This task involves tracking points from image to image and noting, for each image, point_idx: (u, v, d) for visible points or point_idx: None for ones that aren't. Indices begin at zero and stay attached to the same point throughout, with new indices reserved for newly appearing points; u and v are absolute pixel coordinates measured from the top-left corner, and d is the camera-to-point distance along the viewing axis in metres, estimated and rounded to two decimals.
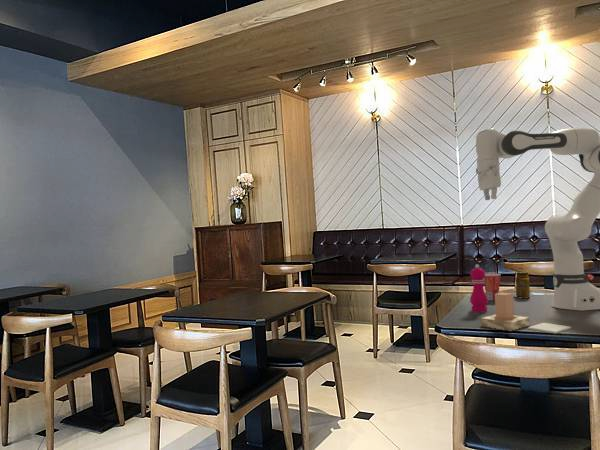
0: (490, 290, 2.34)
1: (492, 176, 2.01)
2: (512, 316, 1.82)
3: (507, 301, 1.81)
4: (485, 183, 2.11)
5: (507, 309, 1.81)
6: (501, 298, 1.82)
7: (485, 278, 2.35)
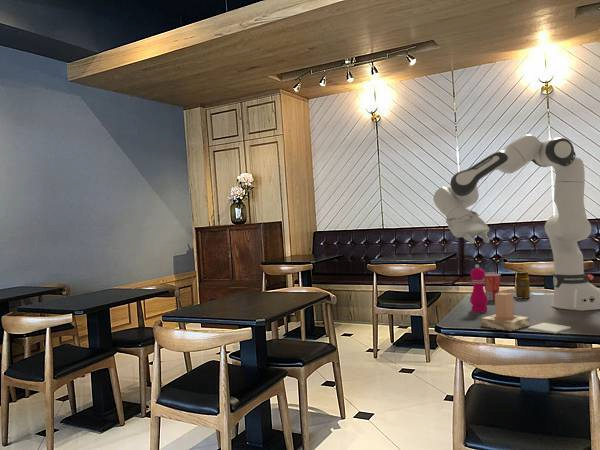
0: (490, 290, 2.34)
1: (450, 229, 2.00)
2: (512, 316, 1.82)
3: (507, 301, 1.81)
4: None
5: (507, 309, 1.81)
6: (501, 298, 1.82)
7: (485, 278, 2.35)
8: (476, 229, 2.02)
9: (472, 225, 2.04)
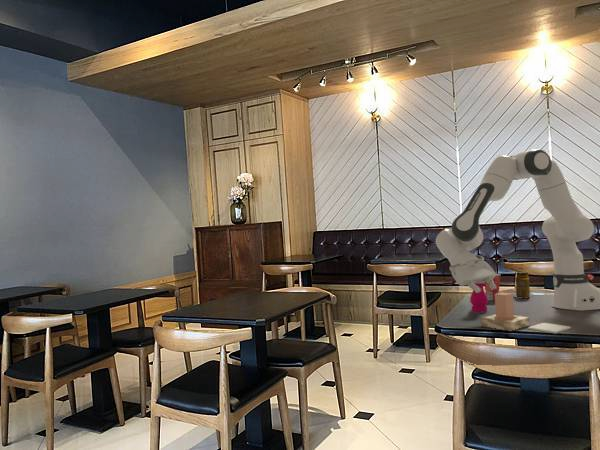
0: (490, 290, 2.34)
1: (454, 277, 1.90)
2: (512, 316, 1.82)
3: (507, 301, 1.81)
4: None
5: (507, 309, 1.81)
6: (501, 298, 1.82)
7: None
8: (481, 276, 1.92)
9: (477, 271, 1.93)
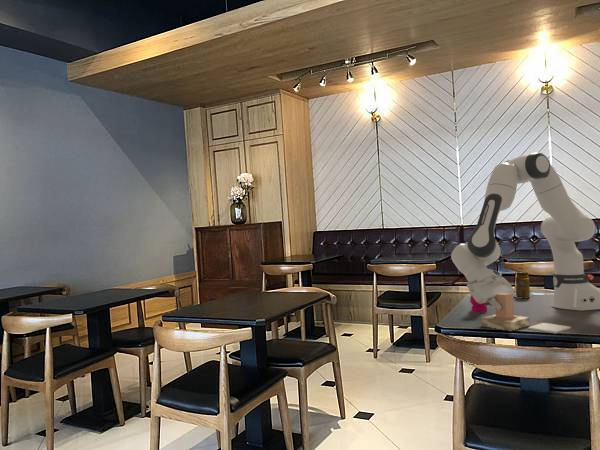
0: None
1: (471, 294, 1.84)
2: (512, 316, 1.82)
3: (507, 301, 1.81)
4: None
5: (507, 309, 1.81)
6: (501, 298, 1.82)
7: None
8: (500, 292, 1.86)
9: (495, 288, 1.87)
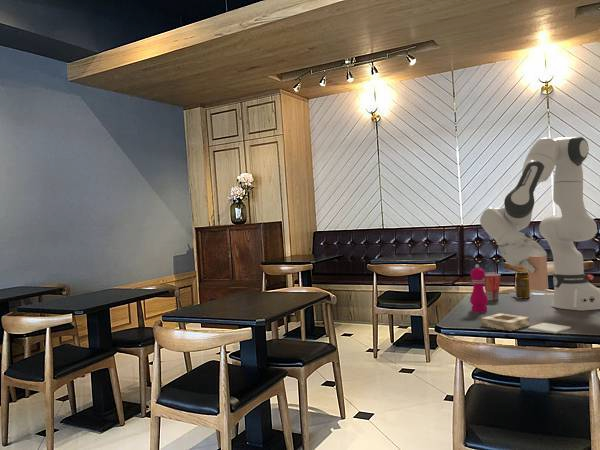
0: (490, 290, 2.34)
1: (503, 257, 1.77)
2: (546, 279, 1.76)
3: (541, 263, 1.75)
4: None
5: (540, 272, 1.74)
6: (534, 260, 1.76)
7: (485, 278, 2.35)
8: (533, 255, 1.79)
9: (528, 251, 1.80)
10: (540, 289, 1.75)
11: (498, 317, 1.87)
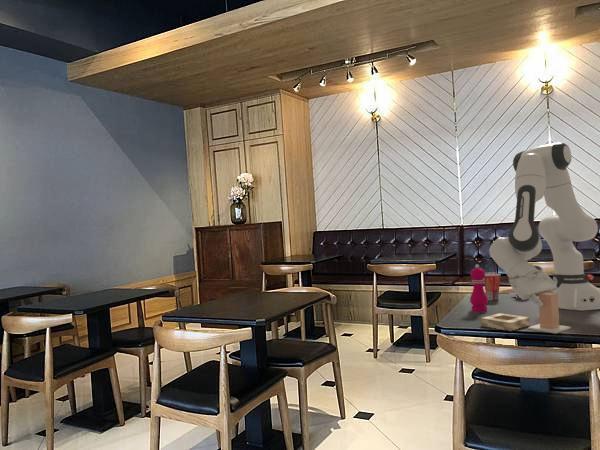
0: (490, 290, 2.34)
1: (514, 290, 1.76)
2: (557, 316, 1.75)
3: (552, 301, 1.73)
4: None
5: (552, 310, 1.73)
6: (545, 298, 1.74)
7: (485, 278, 2.35)
8: (543, 288, 1.78)
9: (538, 283, 1.79)
10: (551, 327, 1.73)
11: (498, 317, 1.87)
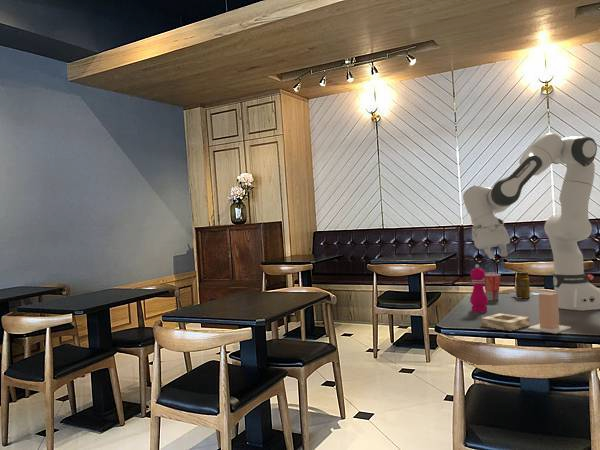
0: (490, 290, 2.34)
1: (473, 238, 1.90)
2: (557, 316, 1.75)
3: (552, 301, 1.73)
4: None
5: (552, 310, 1.73)
6: (545, 298, 1.74)
7: (485, 278, 2.35)
8: (498, 242, 1.94)
9: (495, 237, 1.94)
10: (551, 327, 1.73)
11: (498, 317, 1.87)
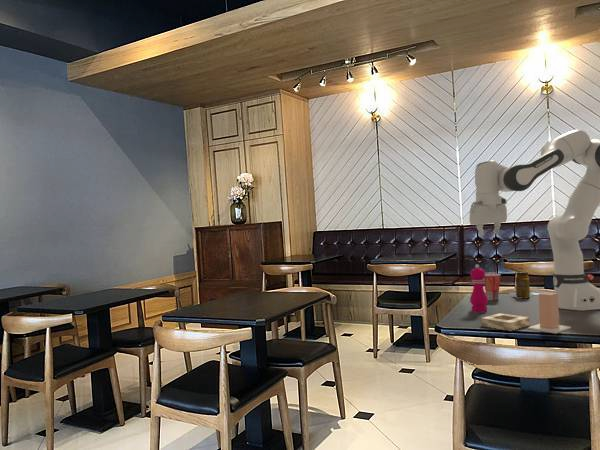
0: (490, 290, 2.34)
1: (470, 213, 1.95)
2: (557, 316, 1.75)
3: (552, 301, 1.73)
4: None
5: (552, 310, 1.73)
6: (545, 298, 1.74)
7: (485, 278, 2.35)
8: (493, 221, 1.99)
9: (492, 215, 1.99)
10: (551, 327, 1.73)
11: (498, 317, 1.87)
